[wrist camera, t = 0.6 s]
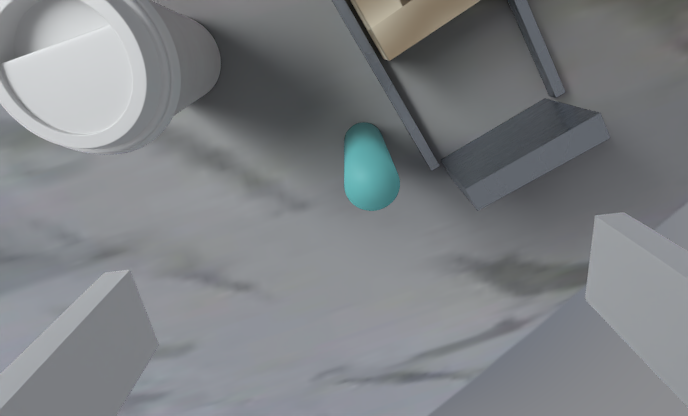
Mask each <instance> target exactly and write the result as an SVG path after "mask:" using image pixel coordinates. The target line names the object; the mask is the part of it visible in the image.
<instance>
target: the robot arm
mask: <svg viewBox="0 0 688 416" xmlns="http://www.w3.org/2000/svg"><path fill="white" fill-rule="evenodd" d="M585 300H586V301H587V302H588V303H589V304H590V305H591V306H592V307H593V308H594V309H595V310H596V311H597V312H598V314H599V315H600V316H601V317H602V318H603V319H604V320H605V321H606V322H607V323H608V324H609V325H610V326H611V327H612V328H613V329H614V330H615V331H616V332H617V334H618V335H619V336H620V337H621V338H622V339H623V340H624V341H625V342H626V343H627V344H628V345H629V346H630V347H631V348H632V349H633V350H634V352H635V353H637V355H638V356H639V357H640V358H641V359H642V360H643V361H644V362H645V363H646V364H647V365H648V366H649V367H650V368H651V369H652V371H654V373H655V374H656V375H657V376H658V377H659V378H660V379H661V380H662V381H663V382H664V383H665V384H666V385H667V386H668V387H669V389H671V391H672V392H673V393H674V394H675V395H676V396H677V397H678V398H679V399H680V400H681V401H682V402H683V403H684V404H685V405H686V406H687V408H688V251H687V250H686V249H684V248H683V247H681V246H679V245H677V244H676V243H674V242H673V241H671V240H669V239H668V238H666V237H664V236H663V235H661V234H659V233H658V232H656V231H654V230H653V229H651V228H649V227H648V226H646V225H644V224H643V223H641V222H639V221H638V220H636V219H634V218H633V217H631V216H629V215H628V214H626V213H624V212H621V213H612V214H603V215H595V221H594V229H593V237H592V245H591V253H590V261H589V269H588V278H587V286H586V294H585ZM158 346H159V343H158V341H157V338H156V336H155V333H154V330H153V328H152V325H151V323H150V320H149V317H148V315H147V312H146V310H145V307H144V305H143V302H142V299H141V297H140V294H139V292H138V289H137V286H136V284H135V281H134V279H133V276H132V274H131V271H130V270H123V271H115V272H106V273H103V274H102V275H101V276H100V277H99V278H98V279H97V280H96V281H95V282H94V283H93V284H92V285H91V286H90V287H89V288H88V289H87V290H86V291H85V292H84V293H83V294H82V295H81V296H80V297H79V298H78V299H77V300H76V301H75V302H74V303H73V304H72V305H71V306H70V307H68V308H67V309H66V310H65V311H64V312H63V313H62V314H61V315H60V316H59V317H58V318H57V319H56V320H55V321H54V322H53V323H52V324H51V325H50V326H49V327H48V328H47V329H46V330H45V331H44V332H43V333H42V334H41V335H40V336H39V337H38V338H37V339H36V340H35V341H33V342H32V343H31V344H30V345H29V346H28V347H27V348H26V349H25V350H24V351H23V352H22V353H21V354H20V355H19V356H18V357H17V358H16V359H15V360H14V361H13V362H12V363H11V364H10V365H9V366H8V367H7V368H6V369H5V370H4V371H3V372H2V373H1V374H0V416H117V414H118V412H119V411H120V409H121V407H122V406H123V404H124V402H125V401H126V399H127V397H128V396H129V394H130V392H131V391H132V389H133V387H134V386H135V384H136V382H137V381H138V379H139V378H140V376H141V374H142V373H143V371H144V369H145V368H146V366H147V364H148V363H149V361H150V359H151V358H152V356H153V354H154V353H155V351H156V349H157V348H158Z"/></svg>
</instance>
